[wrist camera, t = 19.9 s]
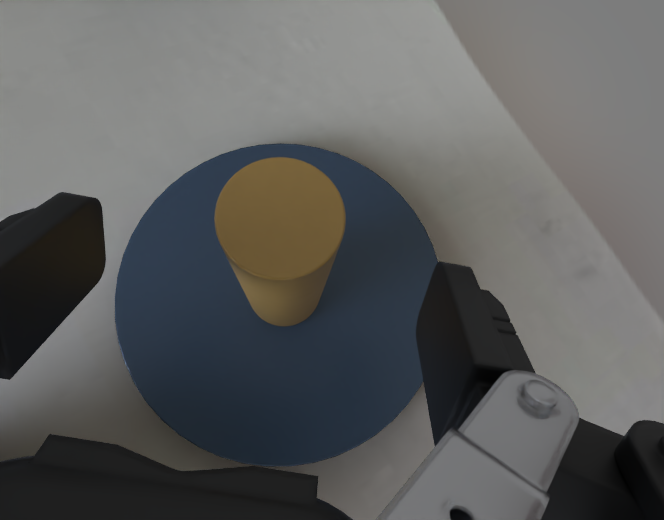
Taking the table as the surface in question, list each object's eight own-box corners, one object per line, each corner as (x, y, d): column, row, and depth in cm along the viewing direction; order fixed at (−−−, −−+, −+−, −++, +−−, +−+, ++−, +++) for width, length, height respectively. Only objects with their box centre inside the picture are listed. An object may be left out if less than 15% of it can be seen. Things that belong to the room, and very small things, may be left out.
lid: (80, 221, 20) (-115, 72, 11) (353, 116, 23) (402, -82, 13) (195, 526, 18) (80, 706, 8) (489, 370, 20) (677, 359, 10)
